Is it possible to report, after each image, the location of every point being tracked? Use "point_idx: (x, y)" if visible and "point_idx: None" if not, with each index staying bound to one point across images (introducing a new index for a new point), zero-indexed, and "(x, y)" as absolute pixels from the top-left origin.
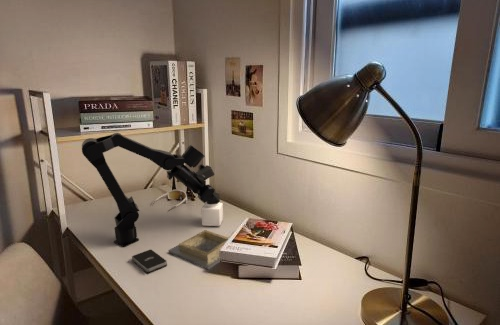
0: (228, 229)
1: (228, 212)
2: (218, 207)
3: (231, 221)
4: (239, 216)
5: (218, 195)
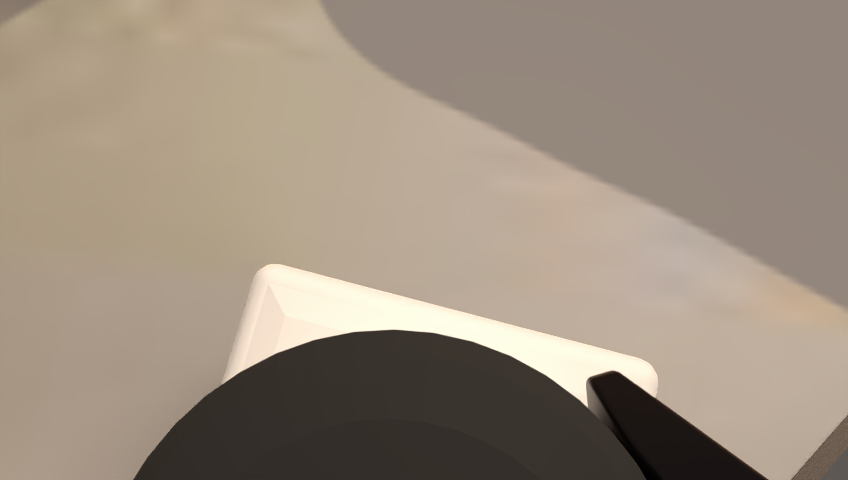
0: (628, 248)
1: (52, 193)
2: (581, 384)
3: (380, 183)
4: (235, 59)
5: (516, 382)
